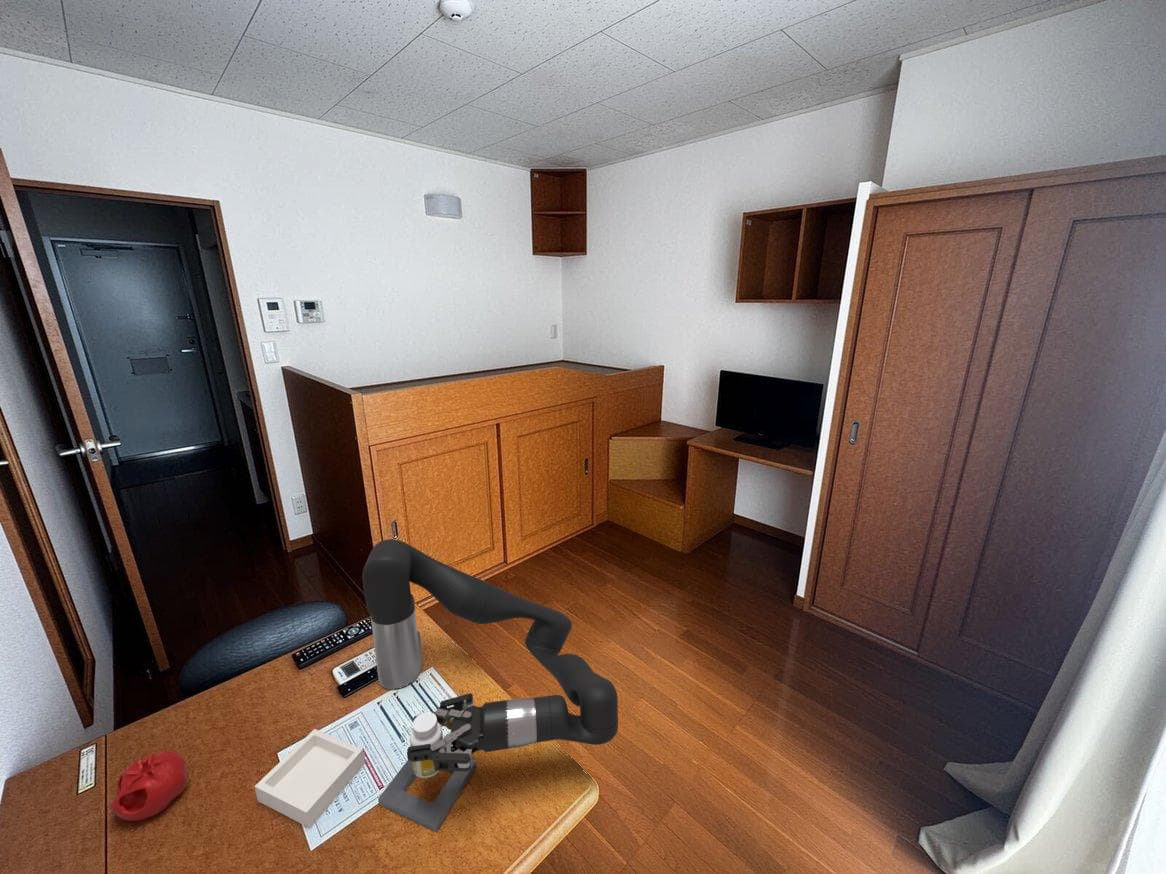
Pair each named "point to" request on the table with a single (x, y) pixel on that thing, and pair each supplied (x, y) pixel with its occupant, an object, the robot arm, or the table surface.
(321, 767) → the bin
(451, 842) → the table surface
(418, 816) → the socket plate
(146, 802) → the pomegranate
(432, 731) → the supplement bottle
